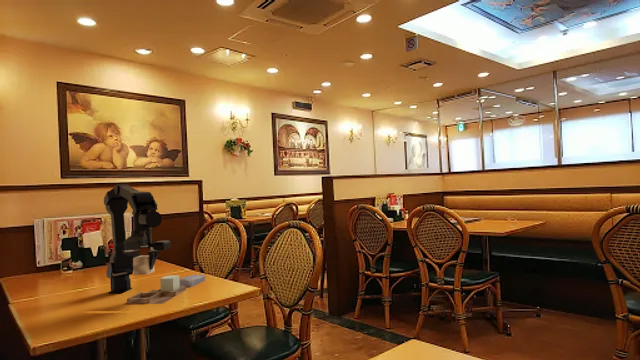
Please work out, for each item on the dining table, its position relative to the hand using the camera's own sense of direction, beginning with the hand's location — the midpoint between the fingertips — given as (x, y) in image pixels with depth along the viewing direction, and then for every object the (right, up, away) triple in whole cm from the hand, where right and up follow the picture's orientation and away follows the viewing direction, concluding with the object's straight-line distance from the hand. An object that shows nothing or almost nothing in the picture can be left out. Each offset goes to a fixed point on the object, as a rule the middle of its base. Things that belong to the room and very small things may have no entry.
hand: (144, 269), depth 140 cm
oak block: (0, -1, 0) cm, 1 cm away
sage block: (+7, -11, +8) cm, 15 cm away
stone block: (+9, -12, +22) cm, 26 cm away
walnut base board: (+4, -11, +3) cm, 12 cm away
